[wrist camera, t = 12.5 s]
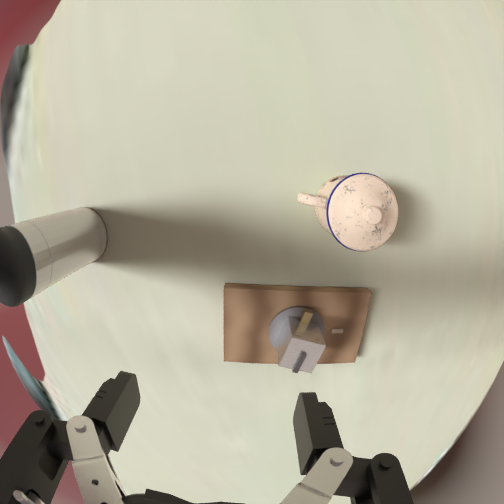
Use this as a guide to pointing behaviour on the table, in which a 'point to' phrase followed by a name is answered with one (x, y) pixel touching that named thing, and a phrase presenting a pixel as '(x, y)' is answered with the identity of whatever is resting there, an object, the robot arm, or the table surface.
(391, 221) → the teacup with lid
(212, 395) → the table surface
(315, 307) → the walnut base
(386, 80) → the table surface
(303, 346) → the white block
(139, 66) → the table surface
